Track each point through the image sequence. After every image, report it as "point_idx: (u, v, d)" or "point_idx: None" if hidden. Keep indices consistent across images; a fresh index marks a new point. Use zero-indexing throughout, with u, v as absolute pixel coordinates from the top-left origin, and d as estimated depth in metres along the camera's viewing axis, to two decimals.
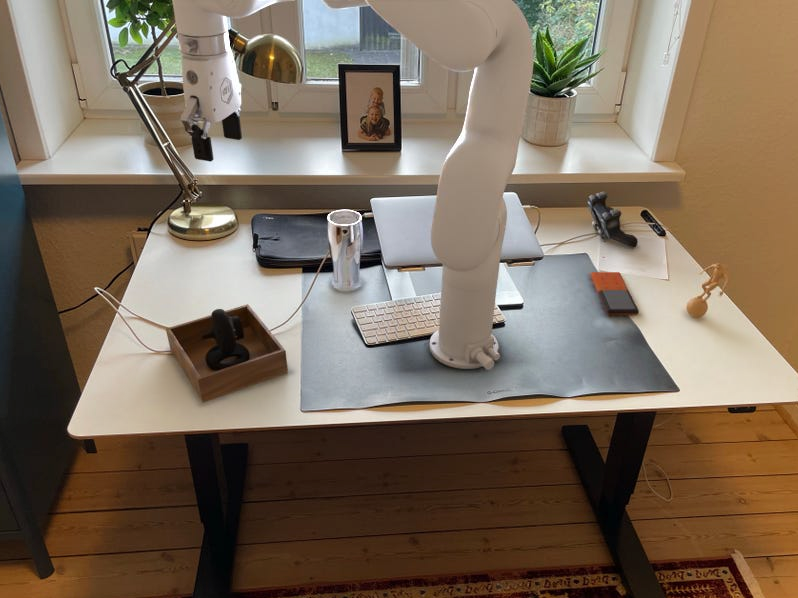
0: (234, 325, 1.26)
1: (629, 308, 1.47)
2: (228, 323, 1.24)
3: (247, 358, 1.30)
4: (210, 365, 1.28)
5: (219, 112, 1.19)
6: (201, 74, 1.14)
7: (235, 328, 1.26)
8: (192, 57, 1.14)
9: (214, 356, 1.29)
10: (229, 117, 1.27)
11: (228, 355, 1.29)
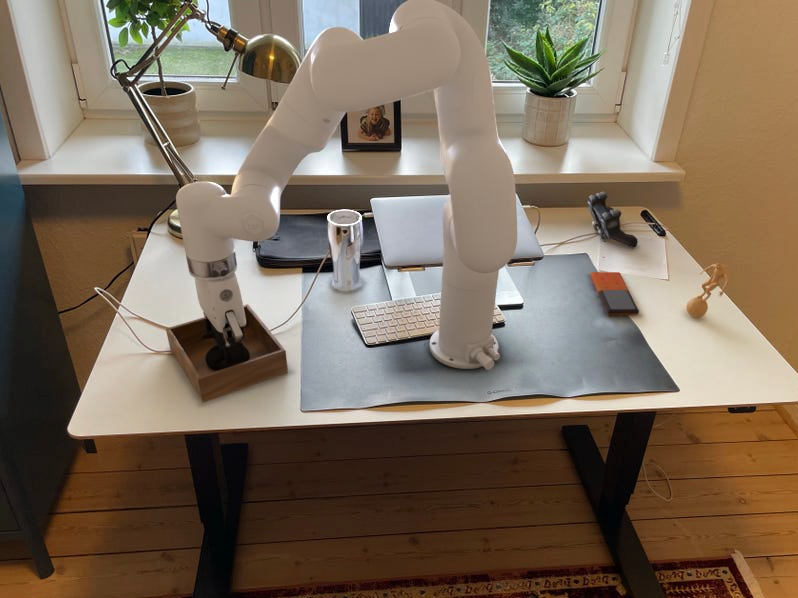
0: None
1: (629, 308, 1.47)
2: None
3: (247, 358, 1.30)
4: (210, 365, 1.28)
5: None
6: (235, 288, 1.18)
7: None
8: (221, 277, 1.17)
9: (214, 356, 1.29)
10: None
11: None
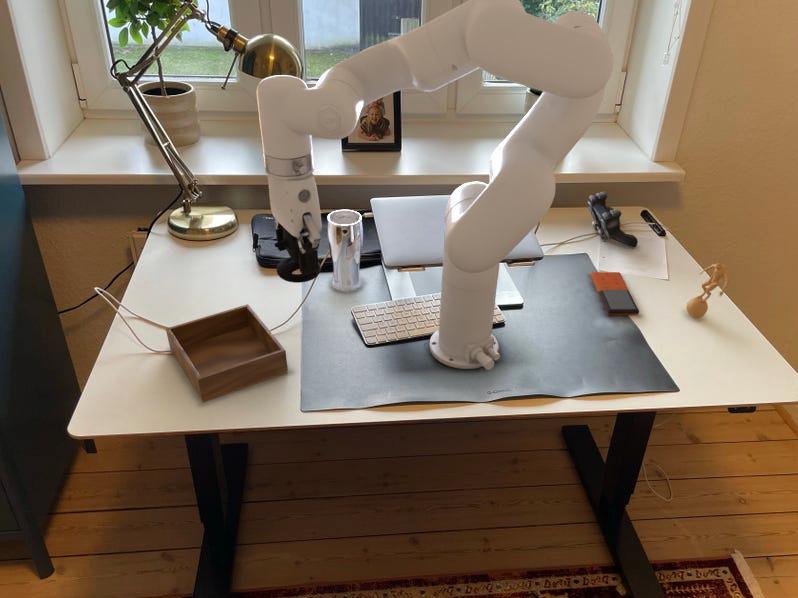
0: None
1: (630, 308, 1.47)
2: (303, 229, 1.21)
3: (319, 269, 1.27)
4: (282, 276, 1.25)
5: None
6: (313, 189, 1.15)
7: None
8: (299, 177, 1.14)
9: (286, 267, 1.26)
10: None
11: None
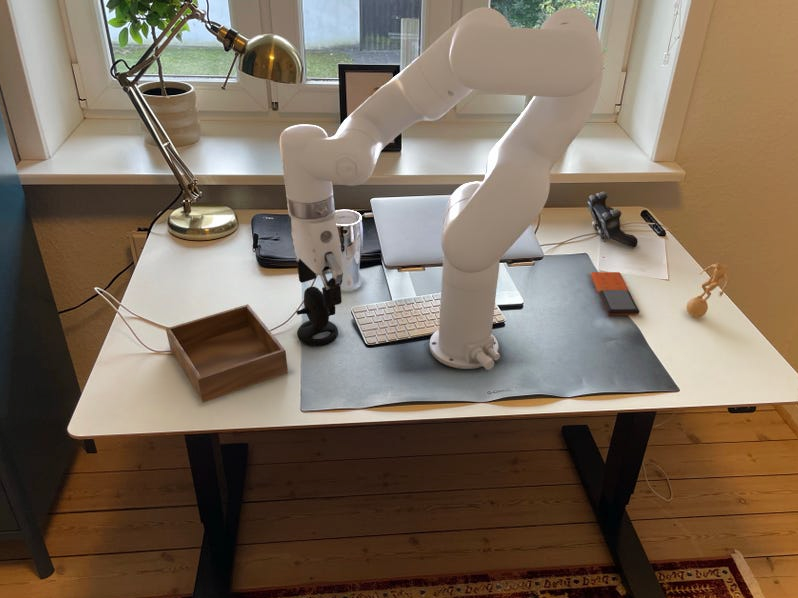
0: None
1: (630, 308, 1.47)
2: None
3: (336, 334, 1.37)
4: (303, 340, 1.35)
5: None
6: (334, 230, 1.21)
7: None
8: (321, 219, 1.20)
9: (306, 331, 1.36)
10: None
11: (319, 330, 1.36)
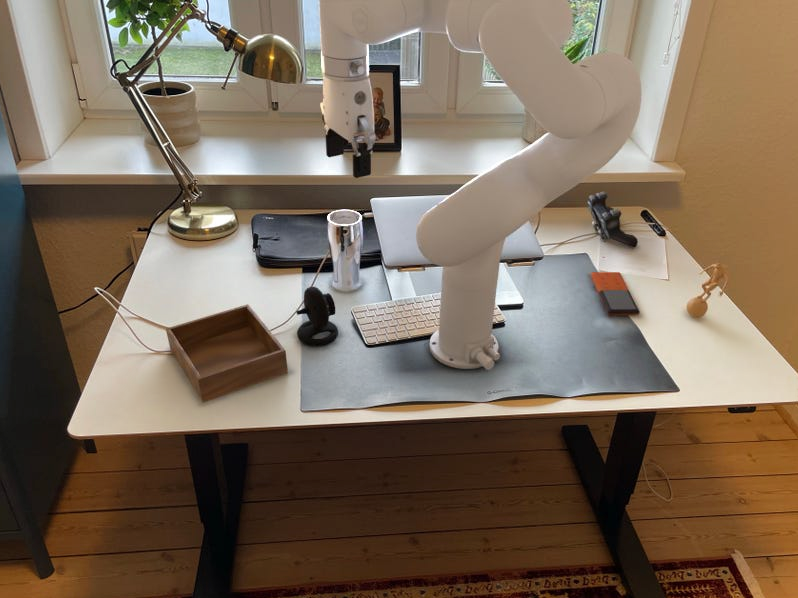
0: (327, 302, 1.33)
1: (630, 308, 1.47)
2: (323, 299, 1.31)
3: (336, 334, 1.37)
4: (303, 340, 1.35)
5: None
6: (368, 92, 1.19)
7: (328, 304, 1.33)
8: (356, 78, 1.18)
9: (306, 331, 1.36)
10: (335, 135, 1.30)
11: (319, 331, 1.36)
